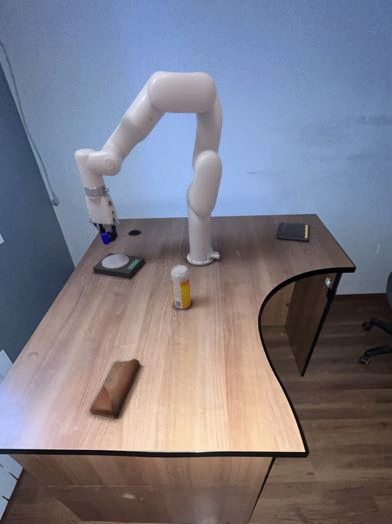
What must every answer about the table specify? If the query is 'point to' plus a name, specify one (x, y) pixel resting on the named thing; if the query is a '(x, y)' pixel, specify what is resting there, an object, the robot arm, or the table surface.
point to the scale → (119, 265)
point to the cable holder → (107, 237)
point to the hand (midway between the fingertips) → (109, 239)
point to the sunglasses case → (115, 389)
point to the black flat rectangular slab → (293, 231)
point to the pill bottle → (180, 286)
